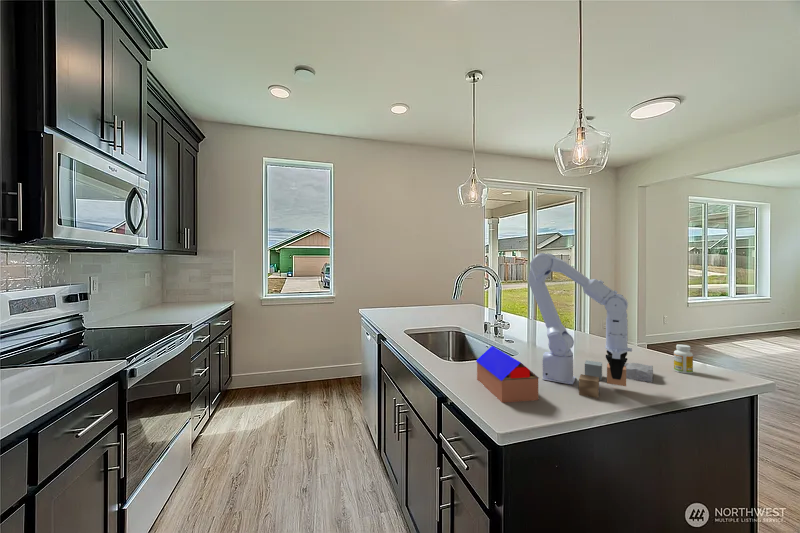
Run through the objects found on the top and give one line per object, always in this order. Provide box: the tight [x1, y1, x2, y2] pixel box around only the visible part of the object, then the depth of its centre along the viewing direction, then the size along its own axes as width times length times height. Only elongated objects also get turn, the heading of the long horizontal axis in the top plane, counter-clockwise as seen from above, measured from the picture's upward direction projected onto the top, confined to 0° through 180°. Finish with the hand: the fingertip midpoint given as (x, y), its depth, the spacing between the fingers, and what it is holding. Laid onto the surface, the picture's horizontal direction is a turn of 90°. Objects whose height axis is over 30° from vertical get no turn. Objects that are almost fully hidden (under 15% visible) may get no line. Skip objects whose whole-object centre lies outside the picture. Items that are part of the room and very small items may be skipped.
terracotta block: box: [606, 362, 627, 387], centre depth 105 cm, size 5×5×5 cm
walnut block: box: [578, 374, 600, 399], centre depth 102 cm, size 5×5×5 cm
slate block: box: [584, 359, 603, 381], centre depth 117 cm, size 5×5×5 cm
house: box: [475, 345, 540, 403], centre depth 107 cm, size 12×20×12 cm, turn 8°
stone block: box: [624, 362, 654, 383], centre depth 118 cm, size 12×5×10 cm
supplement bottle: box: [673, 343, 694, 374], centre depth 122 cm, size 5×5×10 cm
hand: (616, 376), depth 105 cm, fingers closed on terracotta block, 5 cm apart
